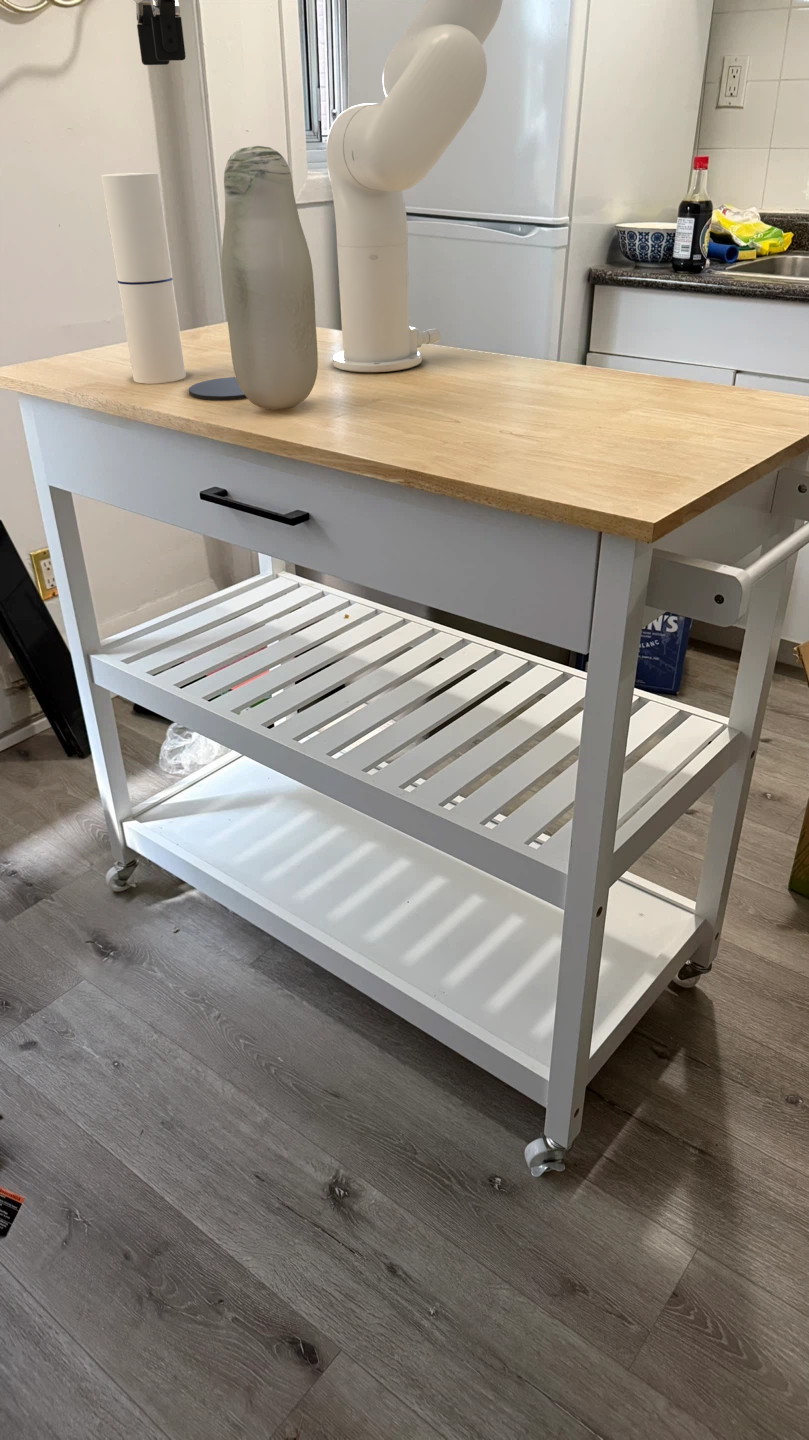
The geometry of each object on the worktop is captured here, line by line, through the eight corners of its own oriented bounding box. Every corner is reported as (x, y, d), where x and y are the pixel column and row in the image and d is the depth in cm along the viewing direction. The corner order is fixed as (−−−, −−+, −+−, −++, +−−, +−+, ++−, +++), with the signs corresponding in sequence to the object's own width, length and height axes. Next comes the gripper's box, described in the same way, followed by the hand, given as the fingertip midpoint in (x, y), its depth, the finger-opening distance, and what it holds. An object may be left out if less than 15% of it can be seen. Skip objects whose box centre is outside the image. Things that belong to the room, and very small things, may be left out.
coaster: (252, 376, 141) (252, 373, 141) (287, 391, 133) (287, 387, 133) (176, 388, 136) (176, 384, 136) (208, 404, 128) (207, 400, 128)
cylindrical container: (141, 386, 138) (108, 176, 126) (127, 376, 144) (95, 174, 131) (192, 379, 141) (165, 173, 128) (177, 369, 147) (149, 171, 134)
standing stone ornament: (256, 396, 131) (231, 145, 117) (332, 399, 129) (315, 143, 114) (224, 416, 123) (192, 148, 109) (304, 419, 120) (282, 146, 106)
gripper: (191, -143, 104) (211, 58, 113) (160, -111, 118) (181, 65, 127) (115, -147, 102) (142, 59, 110) (93, -114, 116) (119, 66, 124)
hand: (163, 62), depth 118 cm, fingers open, 9 cm apart
